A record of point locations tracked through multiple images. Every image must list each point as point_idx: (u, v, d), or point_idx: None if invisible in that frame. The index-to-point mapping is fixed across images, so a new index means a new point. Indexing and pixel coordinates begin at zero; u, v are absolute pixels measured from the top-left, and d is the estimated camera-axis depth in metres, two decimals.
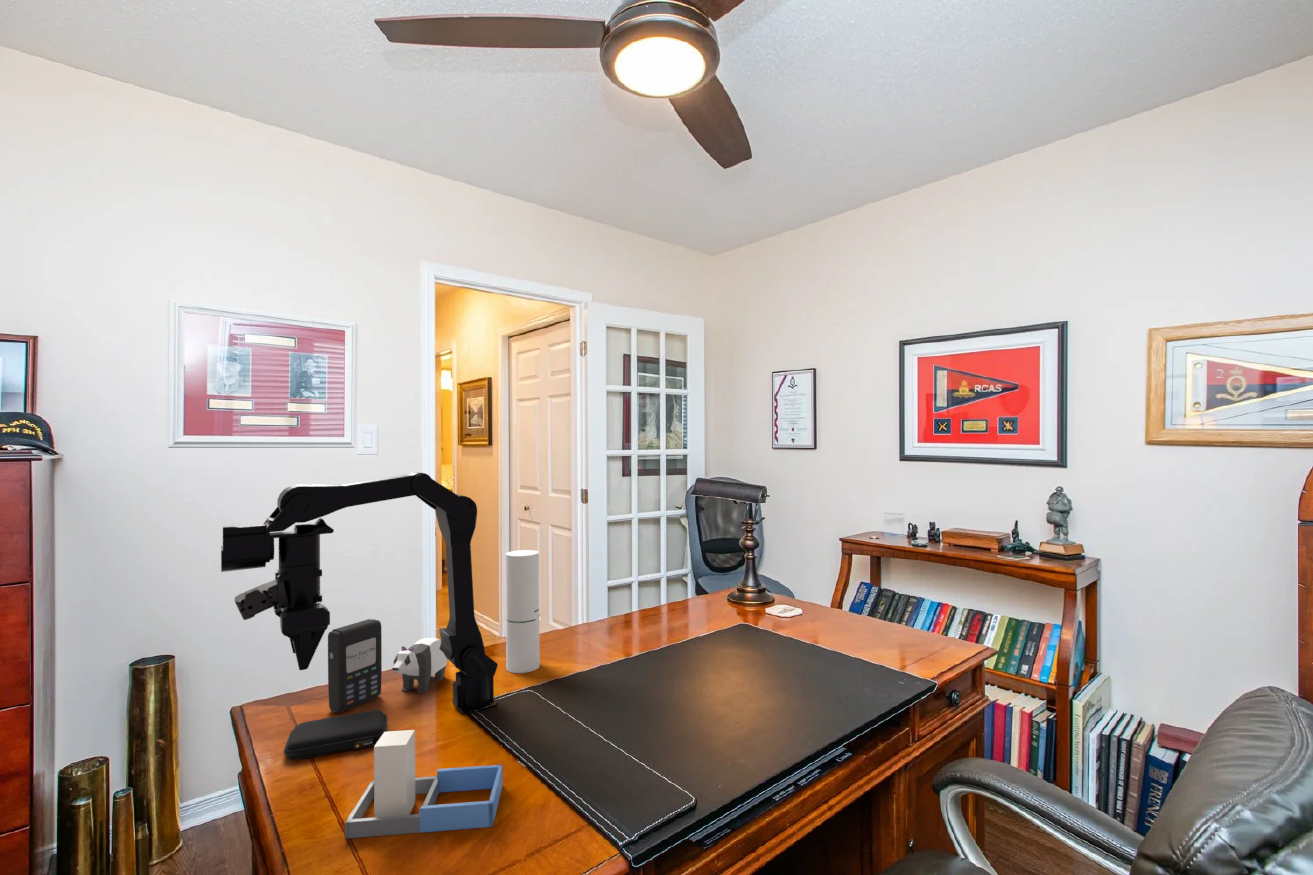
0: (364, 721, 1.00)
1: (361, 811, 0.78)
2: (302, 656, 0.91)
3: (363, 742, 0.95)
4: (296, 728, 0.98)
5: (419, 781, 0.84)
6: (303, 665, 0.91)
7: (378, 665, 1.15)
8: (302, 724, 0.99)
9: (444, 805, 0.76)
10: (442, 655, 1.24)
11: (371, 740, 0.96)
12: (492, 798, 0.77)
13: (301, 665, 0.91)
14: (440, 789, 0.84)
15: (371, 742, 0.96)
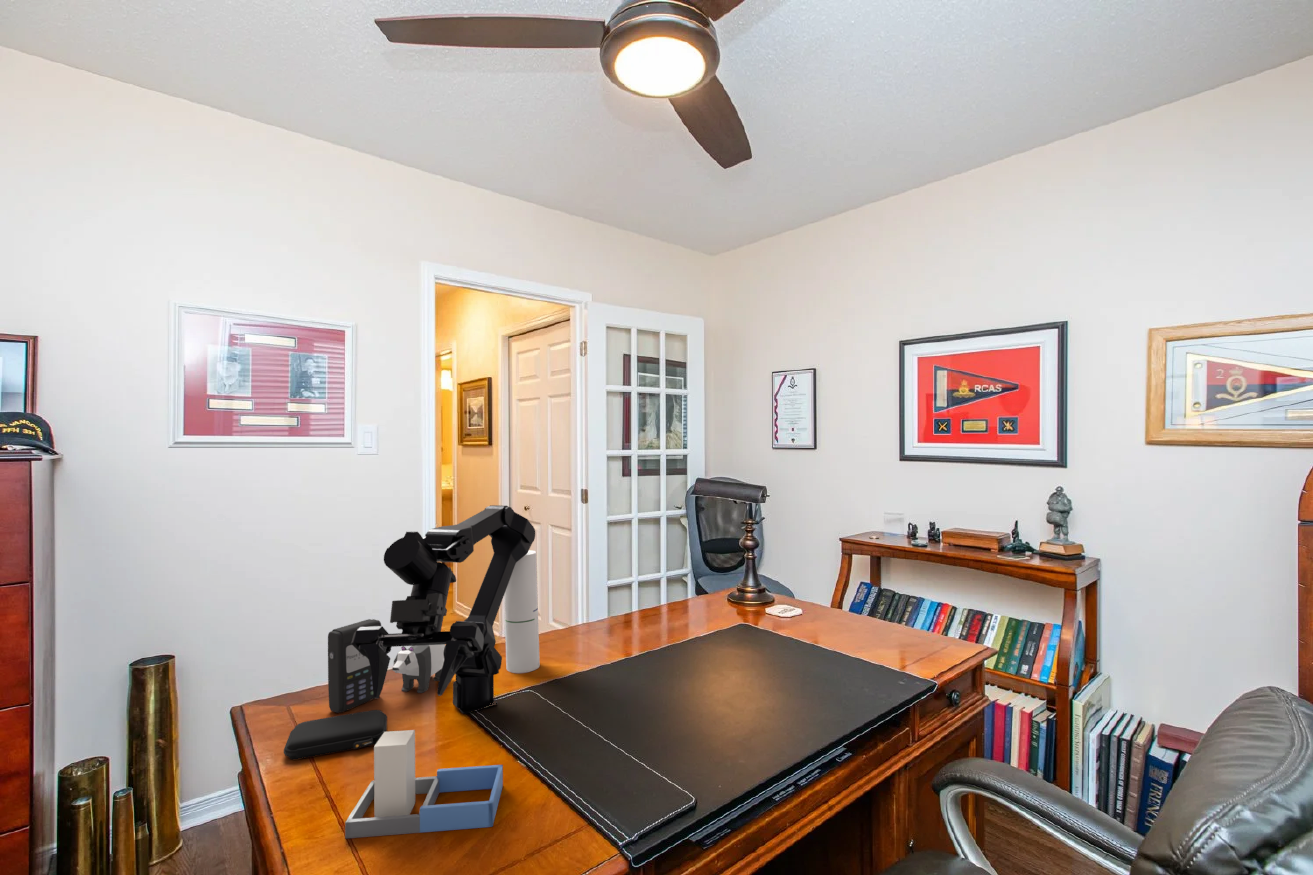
0: (364, 721, 1.00)
1: (361, 811, 0.78)
2: (446, 679, 0.89)
3: (363, 742, 0.95)
4: (296, 728, 0.98)
5: (419, 781, 0.84)
6: (441, 690, 0.88)
7: None
8: (302, 724, 0.99)
9: (444, 805, 0.76)
10: (442, 655, 1.24)
11: (371, 740, 0.96)
12: (492, 798, 0.77)
13: (442, 688, 0.88)
14: (440, 789, 0.84)
15: (371, 742, 0.96)
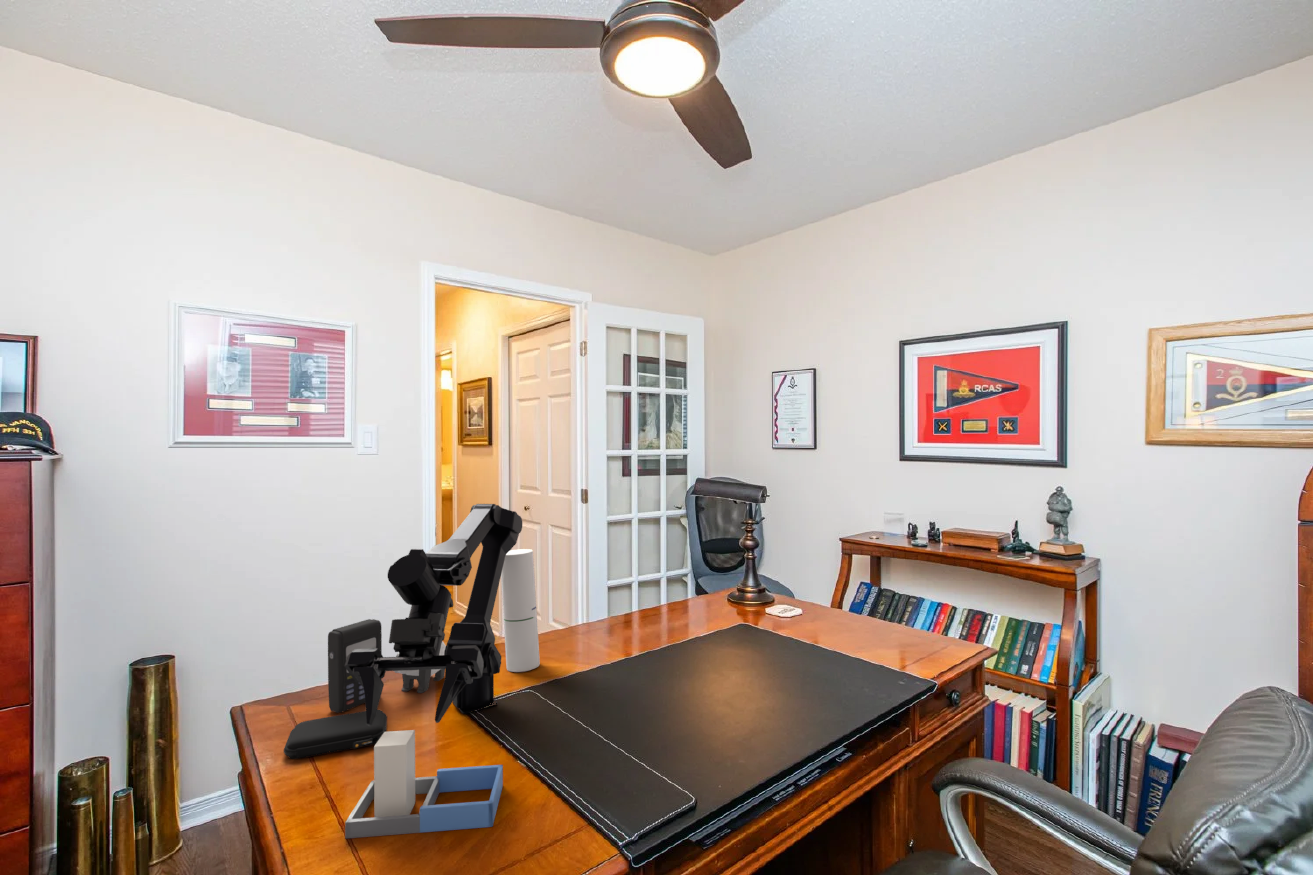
0: (364, 721, 1.00)
1: (361, 811, 0.78)
2: (444, 704, 0.85)
3: (362, 741, 0.96)
4: (296, 727, 0.98)
5: (419, 781, 0.84)
6: (439, 716, 0.84)
7: None
8: (302, 723, 0.99)
9: (444, 805, 0.76)
10: None
11: (370, 740, 0.96)
12: (492, 798, 0.77)
13: (440, 714, 0.83)
14: (440, 789, 0.84)
15: (370, 742, 0.96)
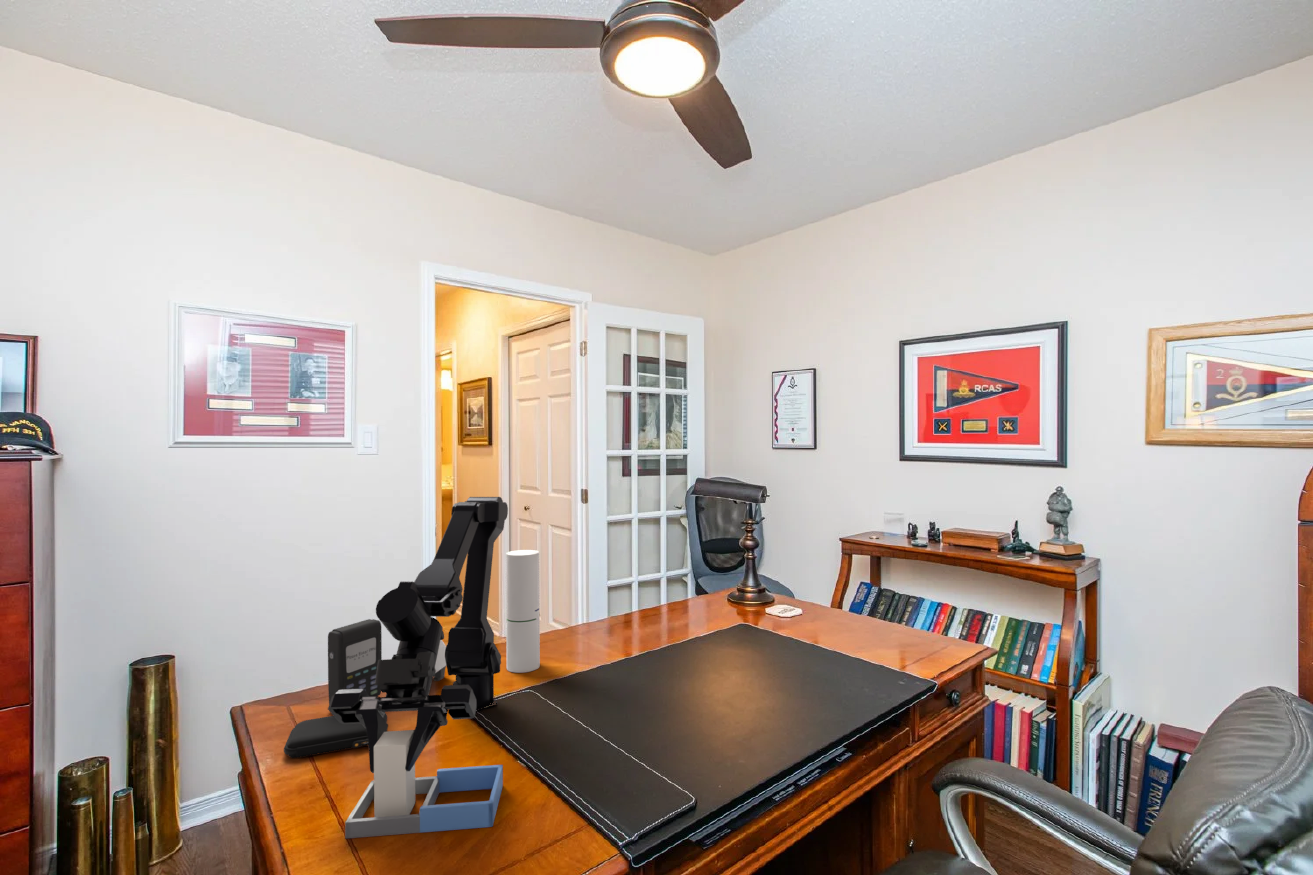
0: None
1: (361, 811, 0.78)
2: (416, 751, 0.79)
3: (362, 741, 0.96)
4: (297, 726, 0.99)
5: (419, 781, 0.84)
6: (410, 764, 0.78)
7: None
8: (303, 722, 1.00)
9: (444, 805, 0.76)
10: (442, 655, 1.24)
11: None
12: (492, 798, 0.77)
13: (411, 762, 0.78)
14: (440, 789, 0.84)
15: None
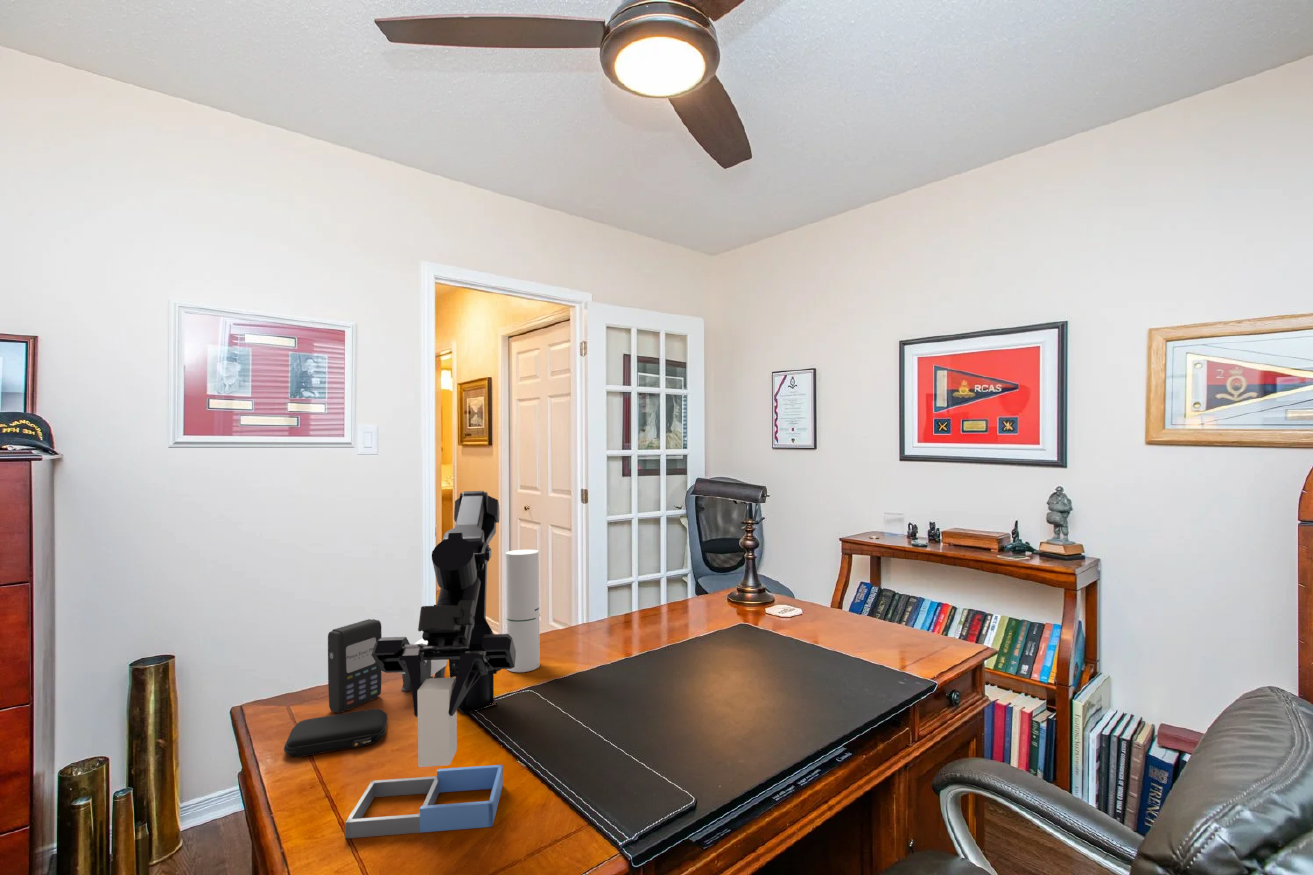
0: (364, 720, 1.00)
1: (361, 811, 0.78)
2: (458, 697, 0.80)
3: (362, 740, 0.96)
4: (297, 725, 0.99)
5: (419, 781, 0.84)
6: (453, 709, 0.79)
7: None
8: (303, 721, 1.00)
9: (444, 805, 0.76)
10: None
11: (370, 738, 0.97)
12: (492, 798, 0.77)
13: (454, 707, 0.79)
14: (440, 789, 0.84)
15: (370, 741, 0.97)
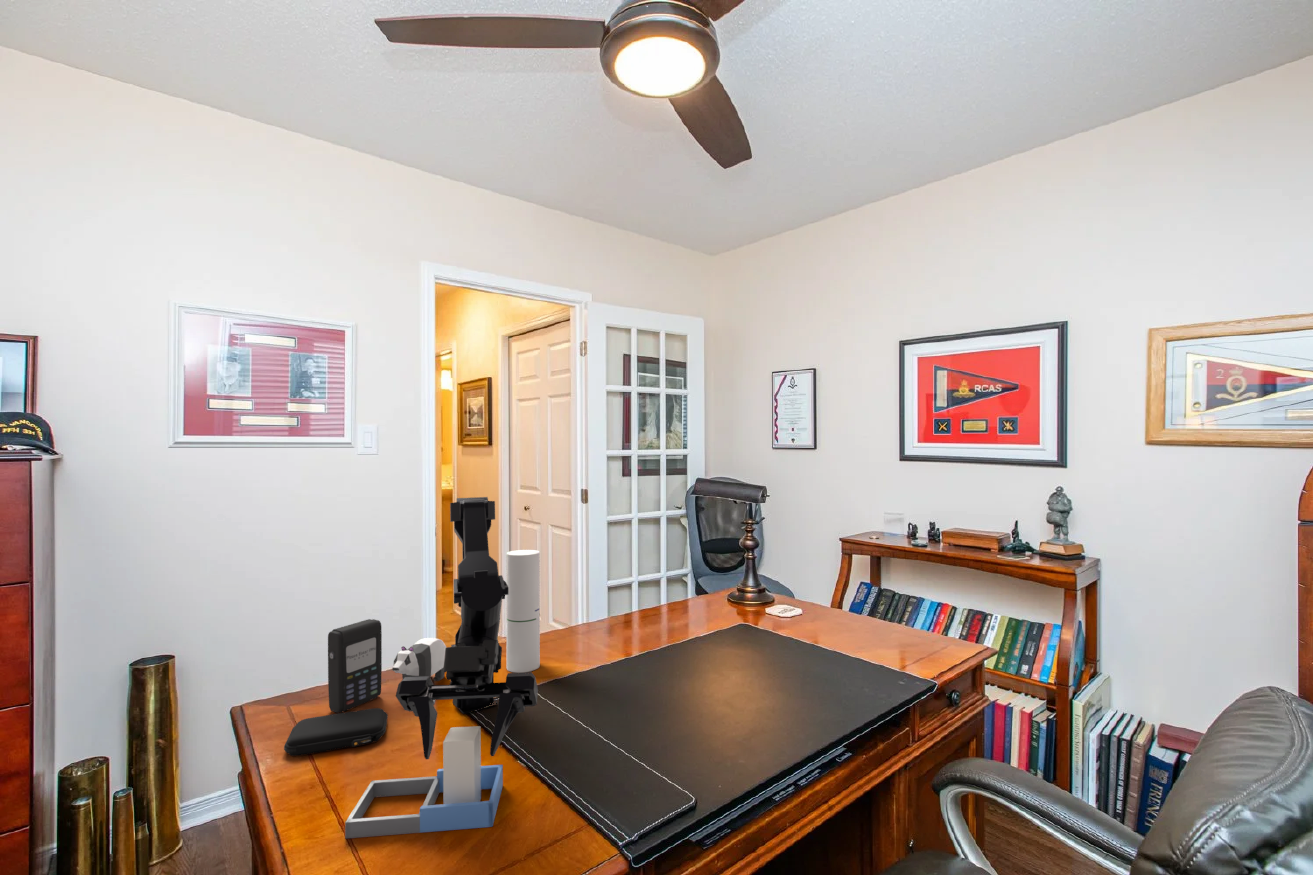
0: (364, 719, 1.01)
1: (361, 811, 0.78)
2: (498, 736, 0.80)
3: (361, 740, 0.96)
4: (298, 724, 0.99)
5: (419, 781, 0.84)
6: None
7: (378, 665, 1.15)
8: (304, 721, 1.00)
9: (444, 805, 0.76)
10: (442, 655, 1.24)
11: (369, 738, 0.97)
12: (492, 798, 0.77)
13: (495, 747, 0.79)
14: (440, 789, 0.84)
15: (369, 740, 0.97)
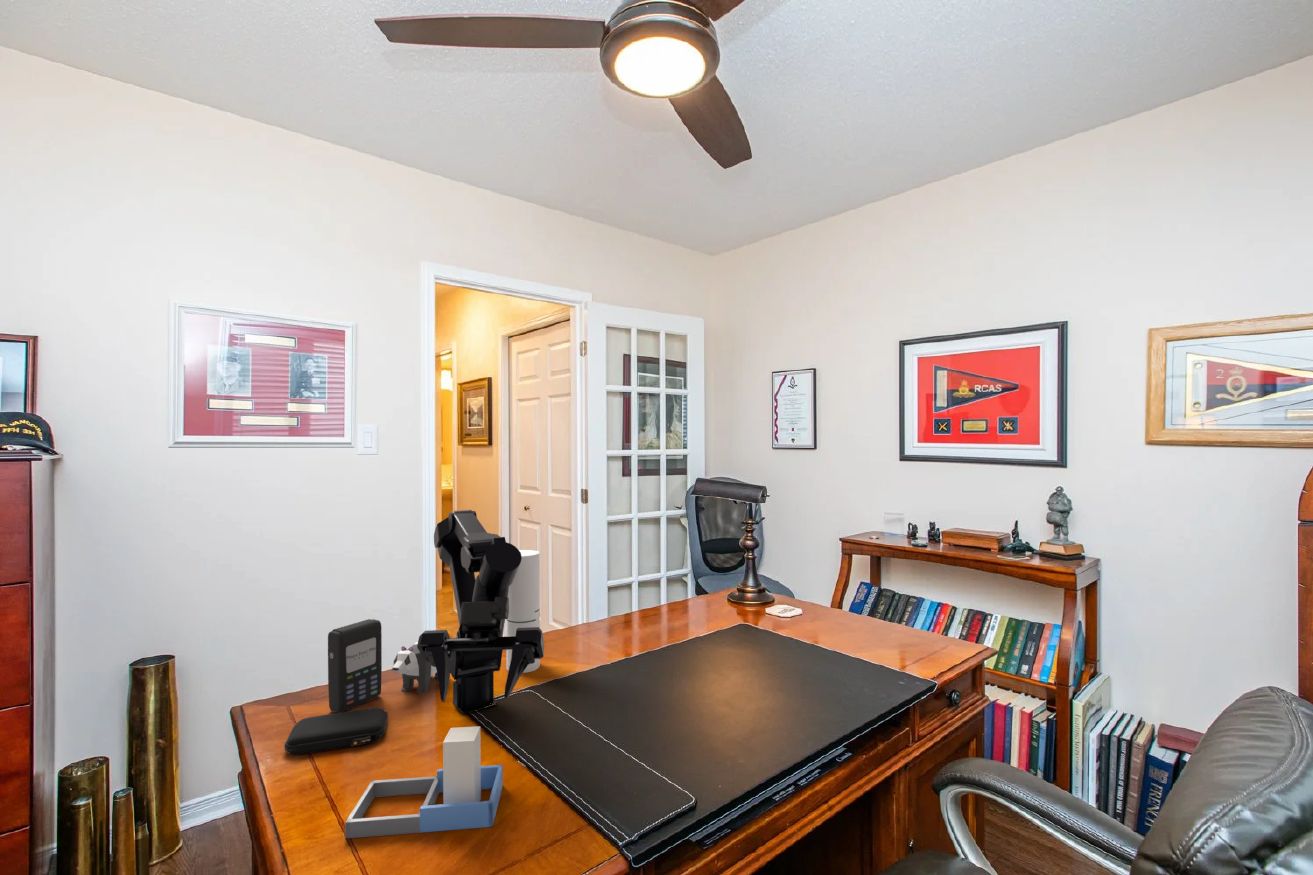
0: (364, 718, 1.01)
1: (361, 811, 0.78)
2: (512, 682, 0.90)
3: (361, 739, 0.96)
4: (298, 723, 1.00)
5: (419, 781, 0.84)
6: (508, 693, 0.89)
7: (378, 665, 1.15)
8: (304, 720, 1.01)
9: (444, 805, 0.76)
10: None
11: (369, 737, 0.97)
12: (492, 798, 0.77)
13: (509, 691, 0.89)
14: (440, 789, 0.84)
15: (369, 739, 0.97)
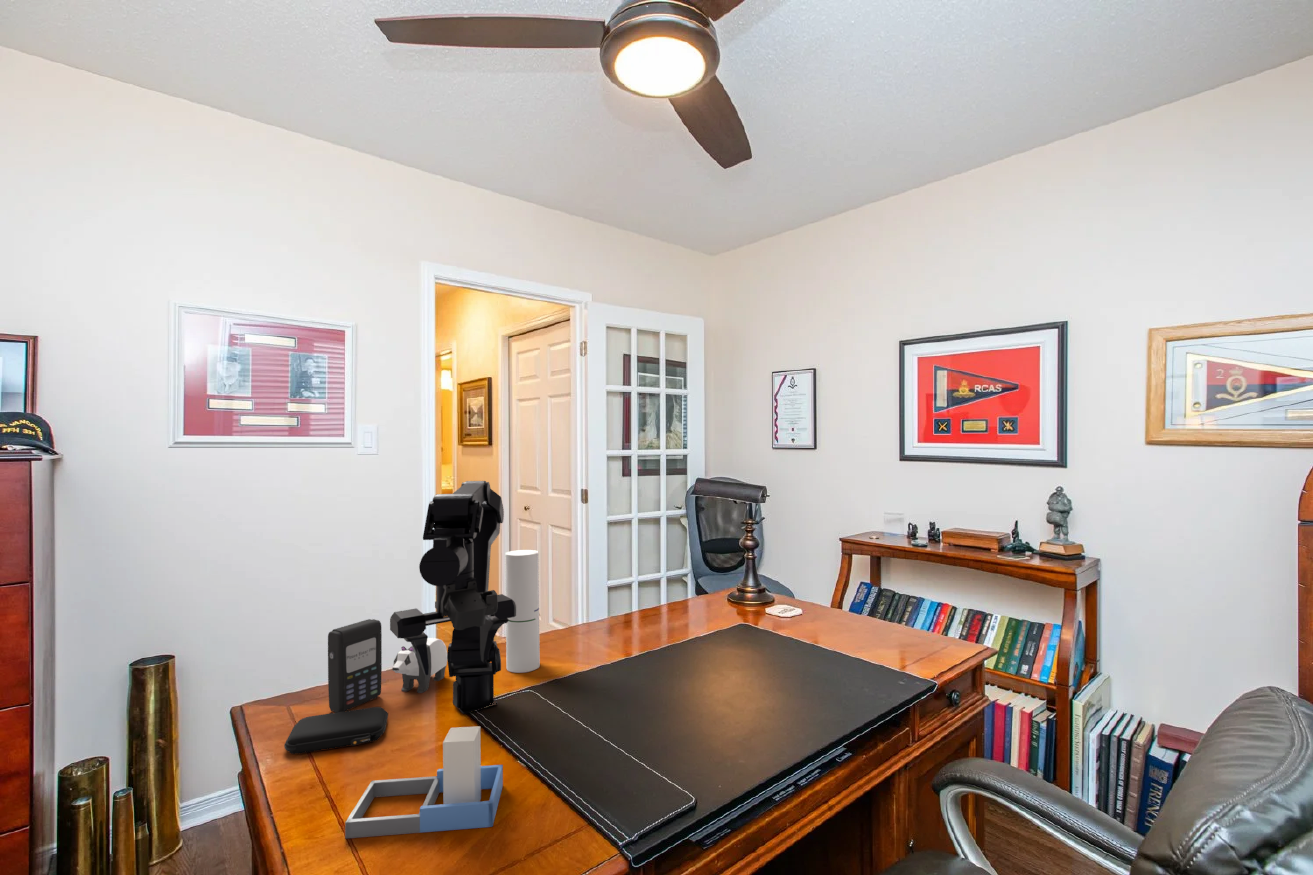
0: (364, 718, 1.01)
1: (361, 811, 0.78)
2: None
3: (360, 739, 0.96)
4: (299, 723, 1.00)
5: (419, 781, 0.84)
6: None
7: (378, 665, 1.15)
8: (305, 719, 1.01)
9: (444, 805, 0.76)
10: (442, 655, 1.24)
11: (368, 737, 0.97)
12: (492, 798, 0.77)
13: None
14: (440, 789, 0.84)
15: (368, 739, 0.97)
